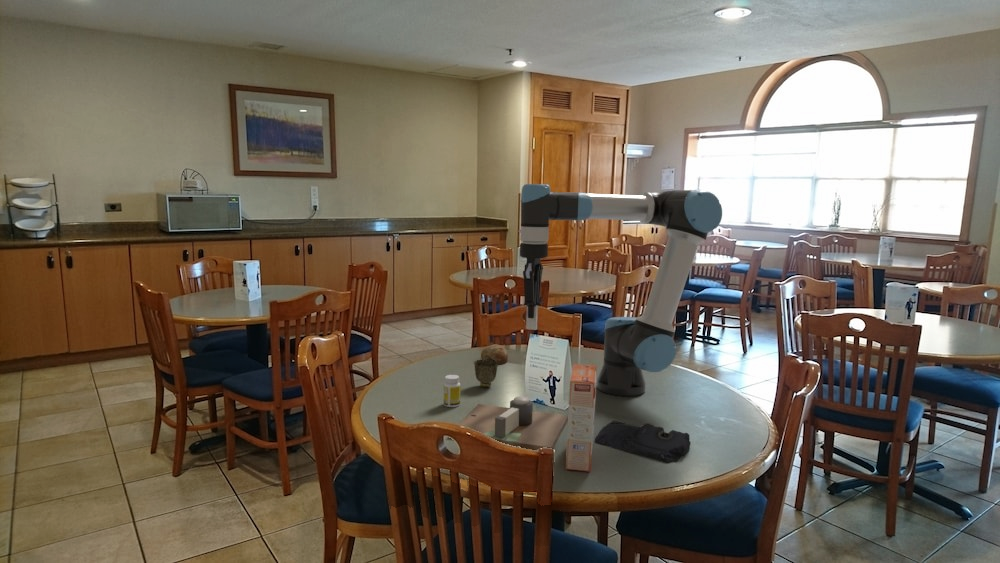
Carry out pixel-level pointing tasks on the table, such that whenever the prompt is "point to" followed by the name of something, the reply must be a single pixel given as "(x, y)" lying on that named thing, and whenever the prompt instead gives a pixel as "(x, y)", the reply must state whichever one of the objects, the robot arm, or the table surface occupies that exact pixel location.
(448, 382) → the supplement bottle
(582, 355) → the table surface
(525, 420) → the peg dial
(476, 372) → the cup
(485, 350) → the bread roll
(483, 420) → the brown flat panel
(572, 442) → the cracker box
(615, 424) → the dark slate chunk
